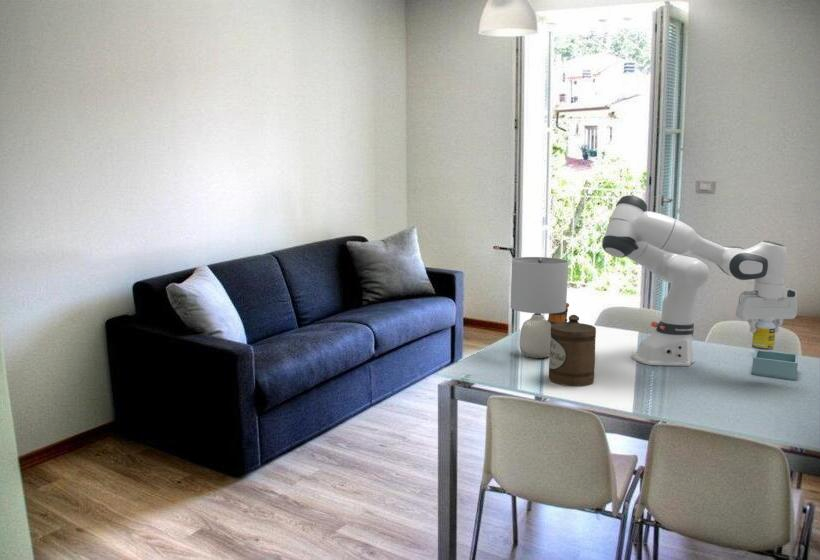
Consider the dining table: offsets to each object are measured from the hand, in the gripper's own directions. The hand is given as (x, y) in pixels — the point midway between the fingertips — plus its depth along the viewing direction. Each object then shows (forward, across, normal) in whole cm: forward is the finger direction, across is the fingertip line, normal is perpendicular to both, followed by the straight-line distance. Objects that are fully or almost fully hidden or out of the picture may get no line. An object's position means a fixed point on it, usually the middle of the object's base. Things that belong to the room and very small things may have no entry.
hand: (764, 332), depth 236 cm
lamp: (+18, -62, +42) cm, 78 cm away
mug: (+18, -37, +83) cm, 93 cm away
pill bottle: (+6, 0, 0) cm, 6 cm away
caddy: (+17, +13, +10) cm, 24 cm away
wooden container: (+18, -62, +11) cm, 65 cm away
